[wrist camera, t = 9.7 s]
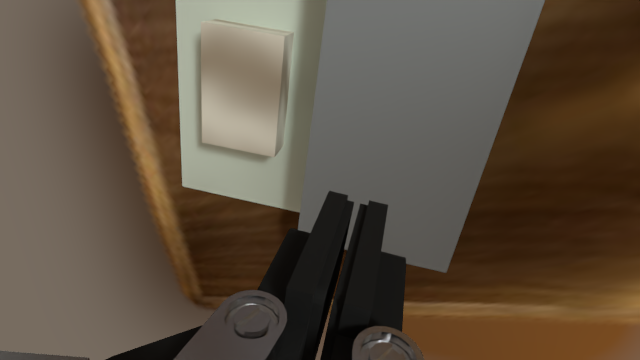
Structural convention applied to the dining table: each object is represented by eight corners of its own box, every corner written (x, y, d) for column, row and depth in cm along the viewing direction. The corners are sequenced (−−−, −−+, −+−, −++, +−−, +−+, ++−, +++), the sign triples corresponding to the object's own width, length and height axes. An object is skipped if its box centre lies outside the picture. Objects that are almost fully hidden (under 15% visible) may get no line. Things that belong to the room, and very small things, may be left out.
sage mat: (173, -98, 27) (172, -99, 27) (347, -75, 25) (347, -75, 25) (183, 185, 37) (182, 186, 37) (307, 213, 36) (307, 214, 35)
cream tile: (284, 36, 27) (294, 32, 29) (200, 21, 27) (216, 19, 29) (274, 157, 31) (283, 145, 33) (201, 142, 31) (215, 132, 34)
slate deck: (347, -75, 25) (337, -84, 22) (541, -49, 24) (564, -54, 20) (307, 213, 36) (296, 238, 32) (442, 243, 34) (446, 272, 31)
